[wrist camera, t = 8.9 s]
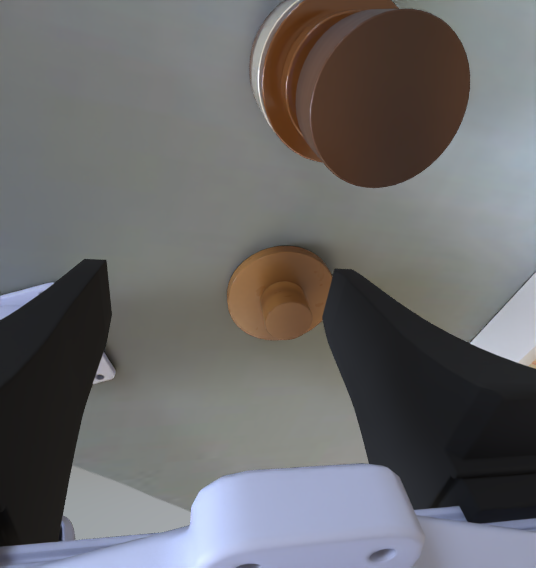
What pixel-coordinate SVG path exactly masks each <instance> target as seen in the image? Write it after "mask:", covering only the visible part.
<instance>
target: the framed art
mask: <svg viewBox="0 0 536 568" xmlns="http://www.w3.org/2000/svg"><path fill="white" fill-rule="evenodd" d="M470 344H472V345H474V346H477V347H479V348H481V349H483V350H486V351H488V352H491V353H493V354H496V355H498V356H501V357H503V358H506V359H509V360H512V361H514V362H517V363H520V364H523V365H526V366H529V367H532V368H535V369H536V273H535V274H534V275H533V276H532V277H531V278H530V279H529V280H528V281H527V282H526V283H525V284H524V285H523V287H522V288H521V289H520V290H519V291H518V292H517V293H516V294H515V295H514V296H513V297H512V298H511V299H510V301H509V302H508V303H507V304H506V305H505V306H504V307H503V308H502V309H501V310H500V311H499V312H498V313H497V315H496V316H495V317H494V318H493V319H492V320H491V321H490V322H489V323H488V324H487V325H486V326H485V328H484V329H483V330H482V331H481V332H480V333H479V334H478V335H477V336H476V337H475V338H474V339H473V340H472V342H471V343H470Z"/></svg>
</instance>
